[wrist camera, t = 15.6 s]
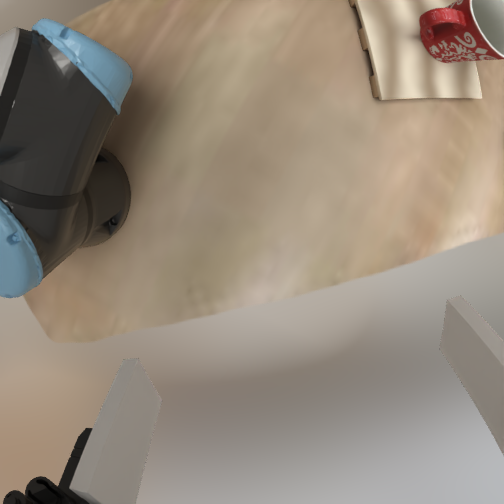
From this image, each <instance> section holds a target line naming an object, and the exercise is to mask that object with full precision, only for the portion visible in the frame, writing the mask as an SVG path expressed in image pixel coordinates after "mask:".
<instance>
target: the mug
mask: <svg viewBox="0 0 504 504" xmlns="http://www.w3.org/2000/svg"><path fill="white" fill-rule="evenodd" d="M419 24H420V36H421V40H422V42H423V45H424V47H425V48H426V50H427V51H428V52H429V53H430V55H432V56H433V57H434V58H435V59H437V60H438V61H440V62H443V63H456V62H466V61H478V60H496V59H504V0H456V1H455V2H453V3H452V4H450V5H448V6H447V7H445V8H435V9H431V10H429V11H427V12H425V13H423V14H422V15H421V16H420V18H419Z"/></svg>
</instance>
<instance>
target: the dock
mask: <svg viewBox="0 0 504 504" xmlns="http://www.w3.org/2000/svg"><path fill="white" fill-rule="evenodd" d="M455 1H456V0H349V3H350V6H351V7H356V8H357V11H358V14H359V17H360V21H361V24H362V28H361V29H360V30H359V31H358V34H359V37H360V41H361V45H362V49H363V50H369V55H370V59H371V63H372V67H373V72H374V75H373V76H371V77H369V79H370V84H371V89H372V94H373V98H376V97H379V100H392V99H413V98H473V99H482V94H481V88H480V82H479V77H478V72H477V67H476V62H475V61H466V62H456V63H443V62H440V61H438V60H437V59H435V58H434V57H433V56H432V55H430V53H429V52H428V51H427V50H426V48H425V47H424V45H423V42H422V40H421V36H420V24H419V18H420V16H421V15H422V14H423V13H425V12H427V11H429V10H431V9H435V8H445V7H447V6H448V5H450V4H452V3H453V2H455Z"/></svg>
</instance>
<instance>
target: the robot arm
mask: <svg viewBox="0 0 504 504" xmlns="http://www.w3.org/2000/svg"><path fill="white" fill-rule="evenodd" d="M132 79H133V74H132V70H131V68H130V66H129V65H128V63H127V62H126V61H124V60H123V59H122V58H121V57H119V56H118V55H116V54H115V53H114V52H112V51H111V50H109V49H108V48H106V47H104V46H103V45H101V44H99V43H98V42H96V41H94V40H92V39H91V38H89V37H87V36H85V35H83V34H81V33H79V32H77V31H73V30H72V29H70V28H68V27H66V26H64V25H63V24H60V23H58V22H56V21H53V20H50V19H44V18H43V19H40V20H39V21H38V22H37V23H36V24H35V25H33V27H32V31H28V30H24V29H20V28H17V27H14V28H12V29H11V30H9V31H7V32H5V33H3V34H2V35H0V296H2V297H6V298H13V297H20V296H22V295H24V294H25V293H27V292H28V291H29V290H31V289H32V288H34V287H36V286H37V285H39V284H40V282H41V281H42V279H43V278H44V277H46V276H47V275H48V274H49V273H50V272H51V271H52V270H53V269H54V268H56V267H57V266H58V265H59V264H60V263H61V262H62V261H64V260H65V259H66V258H67V257H68V256H69V255H70V254H72V253H73V252H74V251H75V250H76V249H77V248H82V247H88V246H94V245H97V244H100V243H102V242H104V241H106V240H107V239H109V238H110V237H111V236H112V235H113V234H114V233H116V232H117V231H118V230H119V228H120V227H121V226H122V224H123V223H124V221H125V219H126V217H127V214H128V211H129V206H130V186H129V182H128V178H127V175H126V173H125V171H124V169H123V167H122V165H121V164H120V162H119V161H118V160H117V159H116V157H115V156H114V155H112V154H111V153H110V152H109V151H107V150H106V149H104V148H102V145H103V143H104V140H105V138H106V136H107V134H108V132H109V129H110V127H111V125H112V123H113V121H114V119H115V117H116V115H119V114H120V111H121V108H120V107H121V104H122V102H123V100H124V98H125V96H126V94H127V92H128V90H129V88H130V85H131V83H132ZM439 349H440V350H441V352H442V354H443V355H444V356H445V358H446V360H447V361H448V363H449V364H450V365H451V367H452V368H453V370H454V372H455V373H456V375H457V376H458V378H459V379H460V381H461V383H462V384H463V386H464V387H465V389H466V391H467V392H468V394H469V395H470V397H471V399H472V400H473V402H474V403H475V405H476V407H477V408H478V410H479V412H480V414H481V415H482V417H483V419H484V421H485V422H486V424H487V426H488V428H489V429H490V431H491V433H492V435H493V436H494V438H495V440H496V442H497V444H498V446H499V448H500V449H501V451H502V453H503V455H504V341H503V340H502V339H501V338H500V336H499V335H498V334H497V333H496V332H495V331H494V330H493V329H492V327H490V325H489V324H488V323H487V322H486V321H485V320H484V319H483V318H482V317H481V316H480V315H479V313H477V311H476V310H475V309H474V308H473V307H472V306H471V305H470V304H469V303H468V302H467V301H466V300H465V299H464V298H463V297H462V296H458V297H455V298H451V299H448V300H447V305H446V311H445V318H444V325H443V332H442V337H441V343H440V348H439ZM161 403H162V399H161V398H160V396H159V394H158V393H157V391H156V389H155V387H154V386H153V384H152V382H151V380H150V378H149V377H148V375H147V373H146V371H145V369H144V367H143V365H142V364H141V362H140V360H139V358H134V359H124V360H123V362H122V364H121V366H120V368H119V370H118V372H117V374H116V377H115V379H114V381H113V383H112V385H111V388H110V390H109V392H108V394H107V397H106V399H105V401H104V403H103V406H102V408H101V410H100V412H99V415H98V417H97V419H96V422H95V424H94V427H93V428H86V429H85V430H84V431H83V432H82V433H81V435H80V436H79V437H78V439H77V442H76V444H75V446H74V449H73V451H72V453H71V458H69V460H68V463H67V465H66V468H65V470H64V473H63V475H62V478H61V480H60V483H59V485H58V487H57V486H56V485H55V484H54V483H53V482H51V481H50V480H49V479H47V478H46V477H41V476H40V477H36V478H34V479H32V480H31V481H30V482H29V484H28V485H27V487H26V490H25V495H24V494H23V493H21V492H20V491H16V490H13V491H11V492H9V493H8V494H7V495H6V496H5V498H4V501H3V504H136V500H137V496H138V492H139V488H140V483H141V479H142V475H143V471H144V467H145V463H146V459H147V456H148V451H149V448H150V444H151V440H152V436H153V433H154V429H155V425H156V421H157V418H158V414H159V410H160V407H161Z"/></svg>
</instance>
